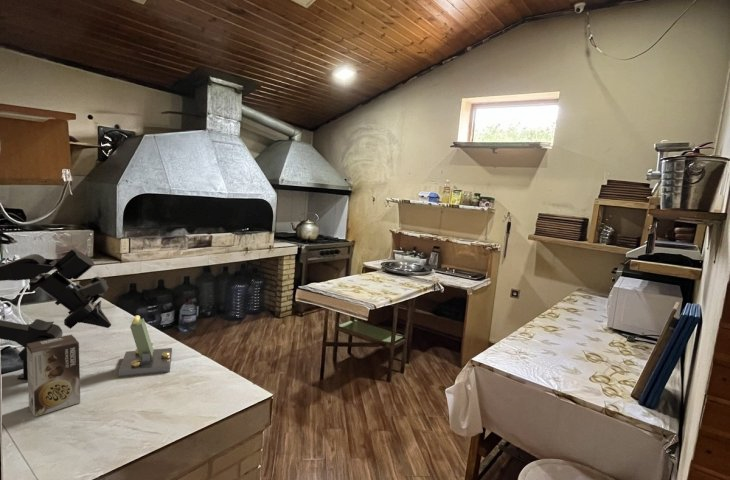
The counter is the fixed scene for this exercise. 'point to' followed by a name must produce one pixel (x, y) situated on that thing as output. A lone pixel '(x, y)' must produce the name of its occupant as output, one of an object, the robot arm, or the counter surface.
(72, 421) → the counter surface
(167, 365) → the base
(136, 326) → the green lever
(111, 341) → the counter surface
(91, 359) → the counter surface
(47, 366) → the coffee box
